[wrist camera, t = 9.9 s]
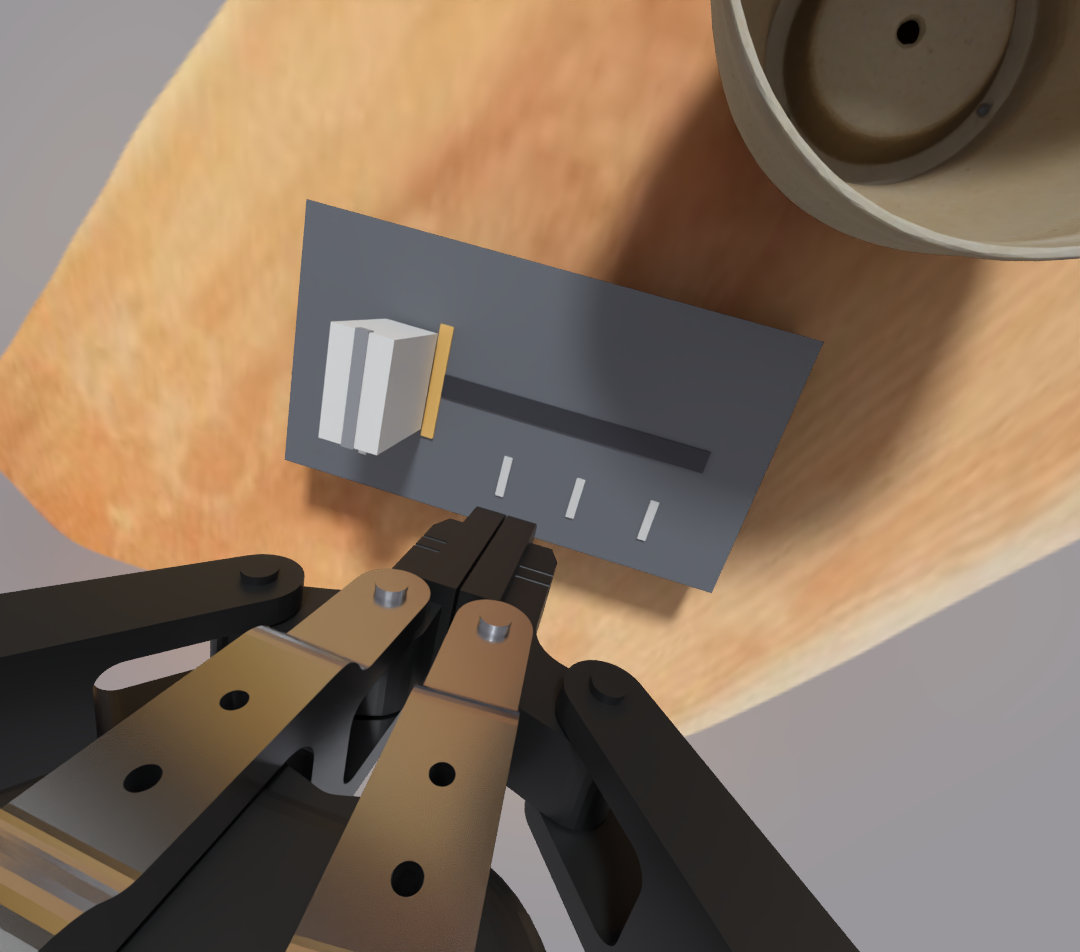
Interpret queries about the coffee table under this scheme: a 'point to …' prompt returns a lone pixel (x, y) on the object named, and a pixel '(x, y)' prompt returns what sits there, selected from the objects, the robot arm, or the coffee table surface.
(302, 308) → the slide fader base
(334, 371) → the fader knob
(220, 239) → the coffee table surface
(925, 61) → the planter bowl
